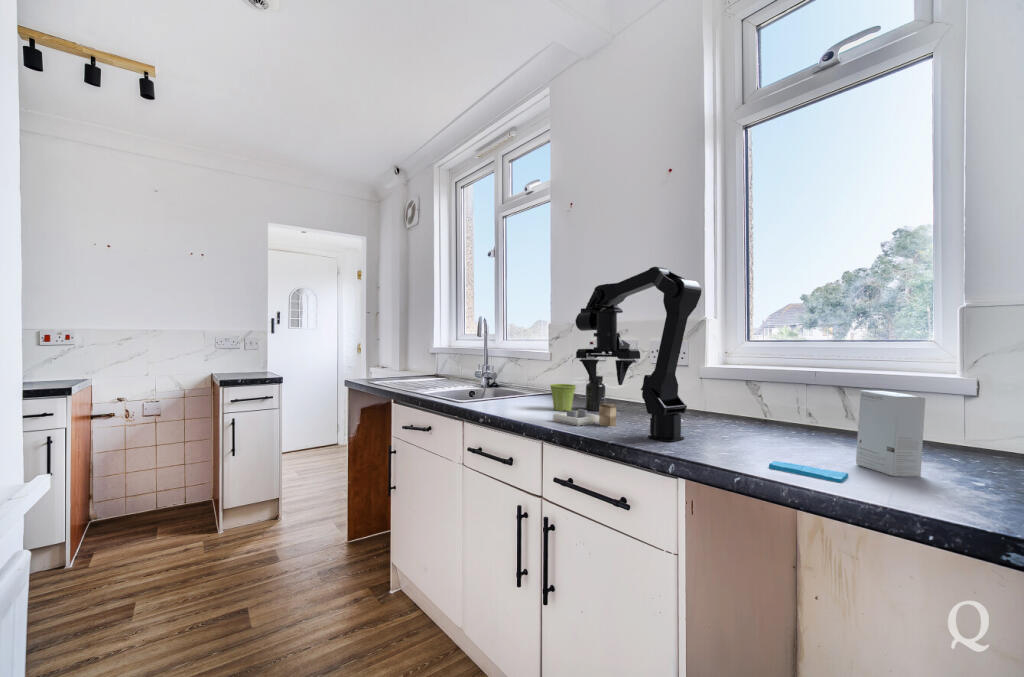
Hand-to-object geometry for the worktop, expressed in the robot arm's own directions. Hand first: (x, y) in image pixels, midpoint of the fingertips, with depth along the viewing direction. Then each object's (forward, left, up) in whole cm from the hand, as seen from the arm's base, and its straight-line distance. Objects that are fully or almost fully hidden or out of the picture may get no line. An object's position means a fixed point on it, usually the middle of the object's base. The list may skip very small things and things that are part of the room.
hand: (606, 384), depth 128 cm
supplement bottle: (+22, -20, -12) cm, 32 cm away
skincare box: (-61, -8, -12) cm, 63 cm away
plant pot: (+28, -10, -12) cm, 32 cm away
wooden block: (0, 0, -12) cm, 12 cm away
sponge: (-52, +6, -12) cm, 54 cm away
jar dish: (+9, +3, -12) cm, 15 cm away
